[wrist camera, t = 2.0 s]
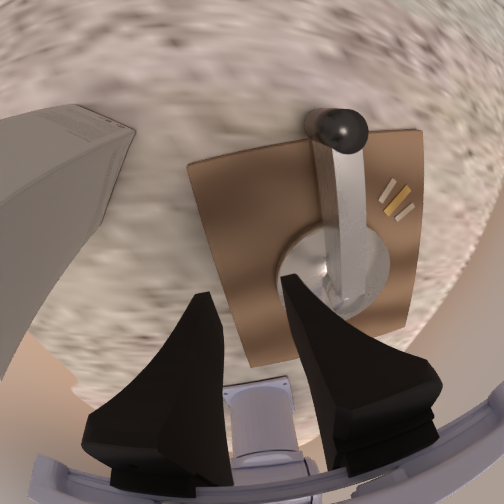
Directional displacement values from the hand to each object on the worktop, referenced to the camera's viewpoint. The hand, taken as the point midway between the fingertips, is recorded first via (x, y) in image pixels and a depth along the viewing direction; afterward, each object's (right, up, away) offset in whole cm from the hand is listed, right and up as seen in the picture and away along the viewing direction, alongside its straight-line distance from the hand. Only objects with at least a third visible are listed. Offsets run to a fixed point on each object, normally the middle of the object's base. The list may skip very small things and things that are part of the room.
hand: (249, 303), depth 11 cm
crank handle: (+6, +4, +8) cm, 10 cm away
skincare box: (-12, +8, +6) cm, 15 cm away
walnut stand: (+6, +1, +11) cm, 12 cm away
